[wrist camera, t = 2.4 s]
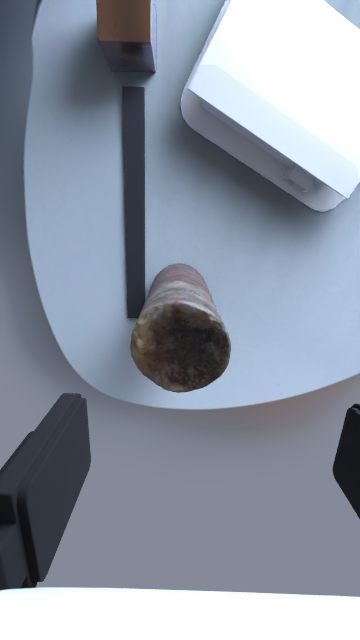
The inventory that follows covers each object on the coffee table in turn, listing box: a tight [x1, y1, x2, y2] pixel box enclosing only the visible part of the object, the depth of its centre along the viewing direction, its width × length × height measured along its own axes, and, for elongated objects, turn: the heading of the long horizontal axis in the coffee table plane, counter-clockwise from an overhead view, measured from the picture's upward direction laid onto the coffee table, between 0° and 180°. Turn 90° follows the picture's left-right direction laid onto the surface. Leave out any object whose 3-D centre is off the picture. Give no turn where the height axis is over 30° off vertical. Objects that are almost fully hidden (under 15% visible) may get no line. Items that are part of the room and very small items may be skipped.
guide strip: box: [123, 87, 145, 318], centre depth 35 cm, size 2×27×1 cm, turn 178°
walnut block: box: [96, 0, 157, 72], centre depth 27 cm, size 5×5×5 cm
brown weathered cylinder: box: [130, 264, 231, 393], centre depth 28 cm, size 8×7×20 cm
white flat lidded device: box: [180, 0, 360, 212], centre depth 29 cm, size 15×23×4 cm, turn 60°
